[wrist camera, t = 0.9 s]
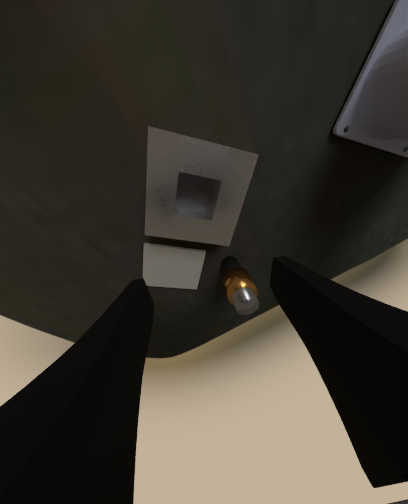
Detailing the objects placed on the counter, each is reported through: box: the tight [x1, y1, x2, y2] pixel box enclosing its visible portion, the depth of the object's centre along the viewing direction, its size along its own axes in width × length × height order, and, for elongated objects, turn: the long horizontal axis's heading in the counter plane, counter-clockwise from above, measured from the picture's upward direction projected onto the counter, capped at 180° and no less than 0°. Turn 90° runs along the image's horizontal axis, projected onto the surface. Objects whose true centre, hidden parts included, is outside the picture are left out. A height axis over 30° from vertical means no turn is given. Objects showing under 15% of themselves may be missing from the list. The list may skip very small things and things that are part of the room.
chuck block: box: [145, 126, 258, 246], centre depth 15 cm, size 8×8×3 cm
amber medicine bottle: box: [221, 256, 259, 315], centre depth 19 cm, size 3×3×7 cm
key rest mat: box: [143, 243, 206, 289], centre depth 21 cm, size 7×6×1 cm
